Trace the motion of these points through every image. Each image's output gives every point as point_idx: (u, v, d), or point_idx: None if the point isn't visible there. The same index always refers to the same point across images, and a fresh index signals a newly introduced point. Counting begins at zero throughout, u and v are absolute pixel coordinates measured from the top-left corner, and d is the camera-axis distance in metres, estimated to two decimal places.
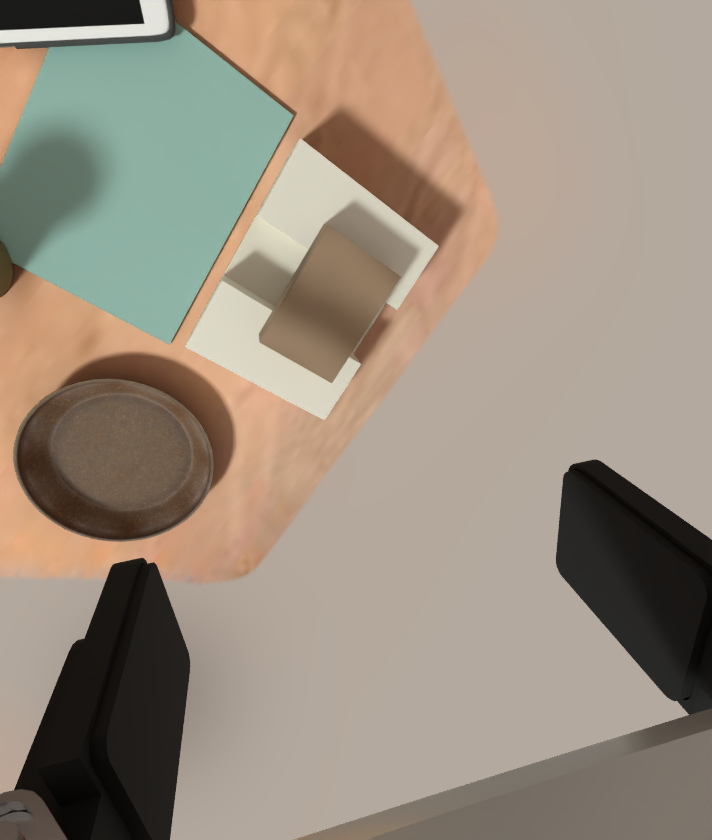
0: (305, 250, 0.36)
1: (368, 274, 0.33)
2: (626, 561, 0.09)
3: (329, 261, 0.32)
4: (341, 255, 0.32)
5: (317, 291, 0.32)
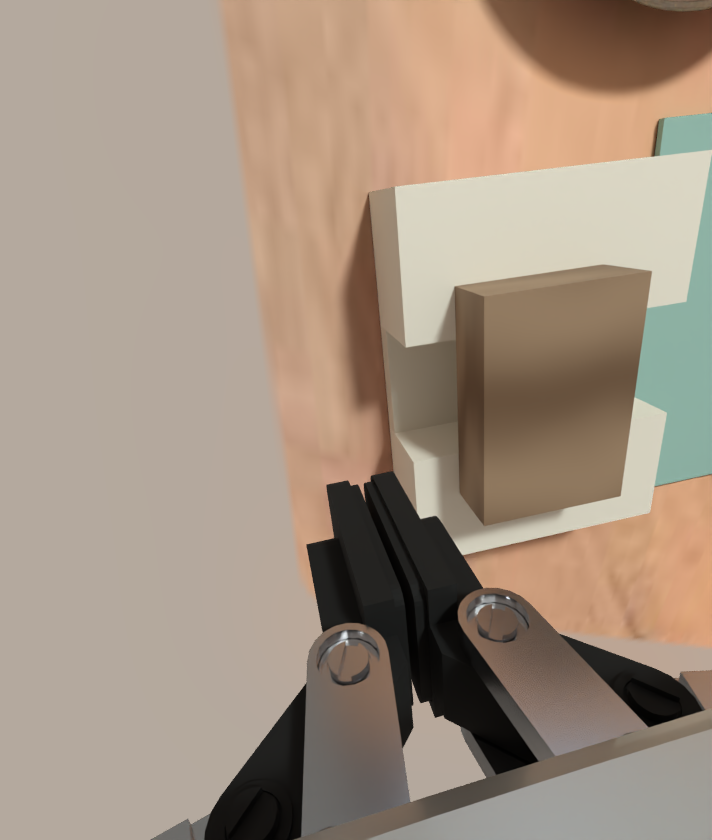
0: None
1: (532, 492, 0.19)
2: None
3: (599, 462, 0.19)
4: (584, 480, 0.19)
5: (595, 416, 0.18)
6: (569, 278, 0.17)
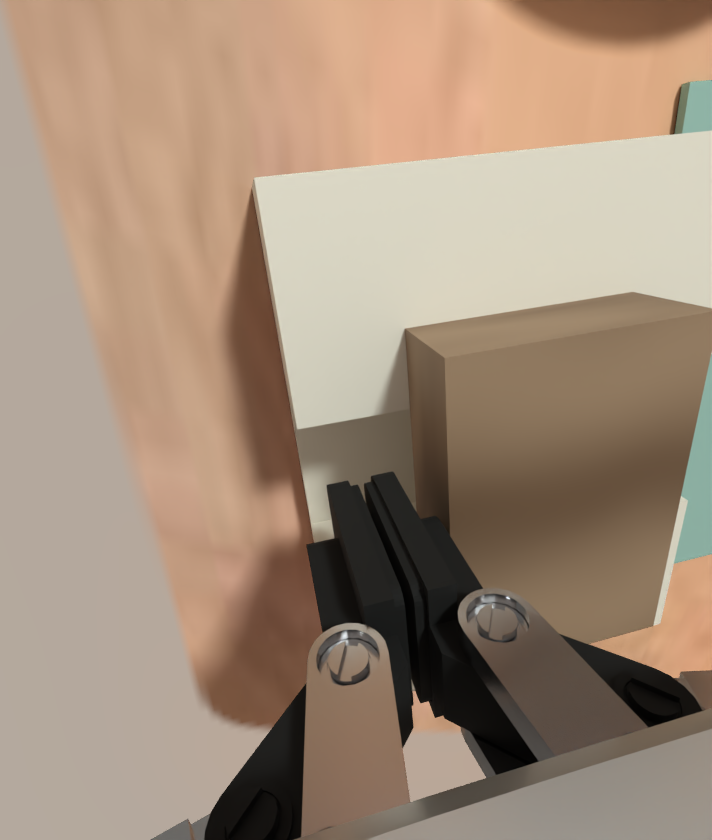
0: None
1: None
2: None
3: (624, 585, 0.13)
4: (603, 611, 0.13)
5: (622, 525, 0.12)
6: (585, 320, 0.10)
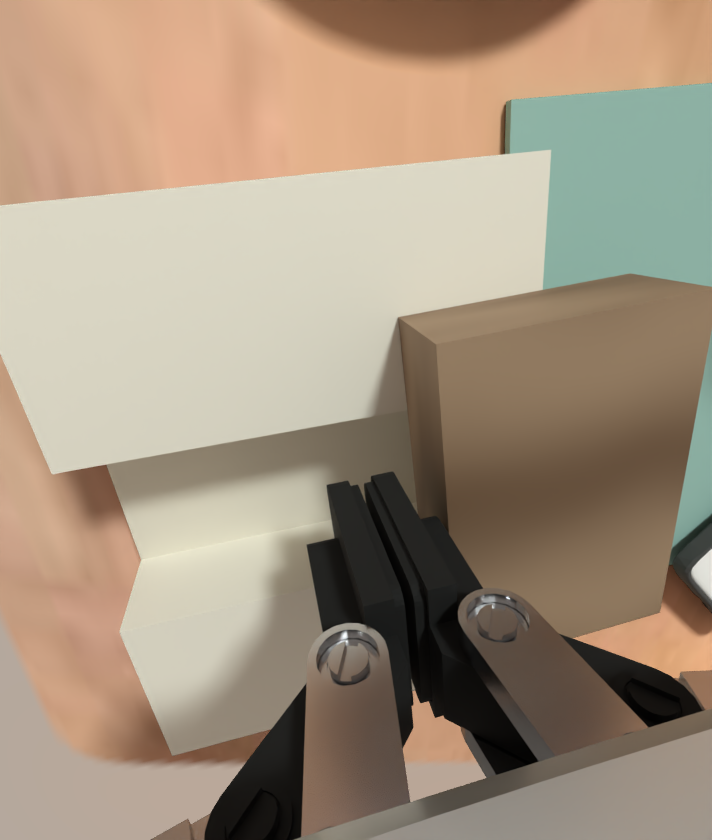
0: None
1: None
2: None
3: (629, 572, 0.12)
4: (607, 598, 0.13)
5: (624, 511, 0.12)
6: (580, 302, 0.10)
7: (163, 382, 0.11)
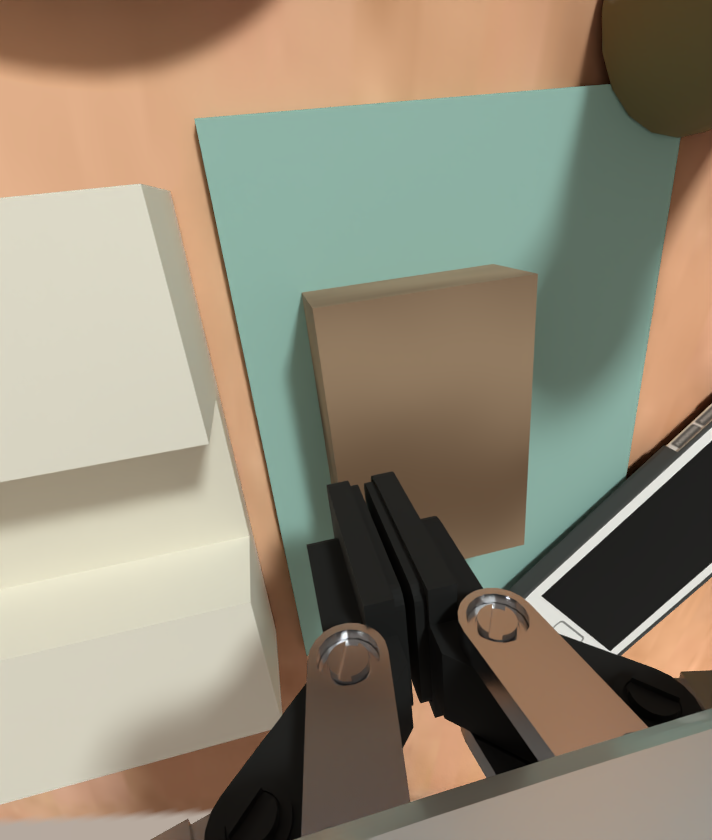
0: (114, 560, 0.15)
1: None
2: None
3: None
4: None
5: None
6: (391, 284, 0.14)
7: None
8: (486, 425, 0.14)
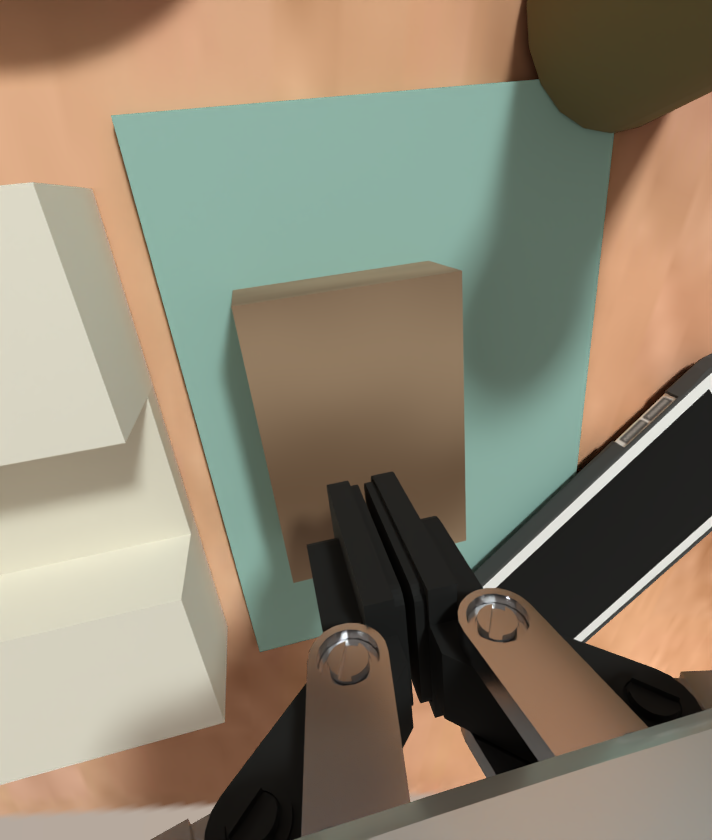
0: (53, 559, 0.15)
1: None
2: None
3: None
4: None
5: None
6: (320, 281, 0.13)
7: None
8: (419, 422, 0.14)
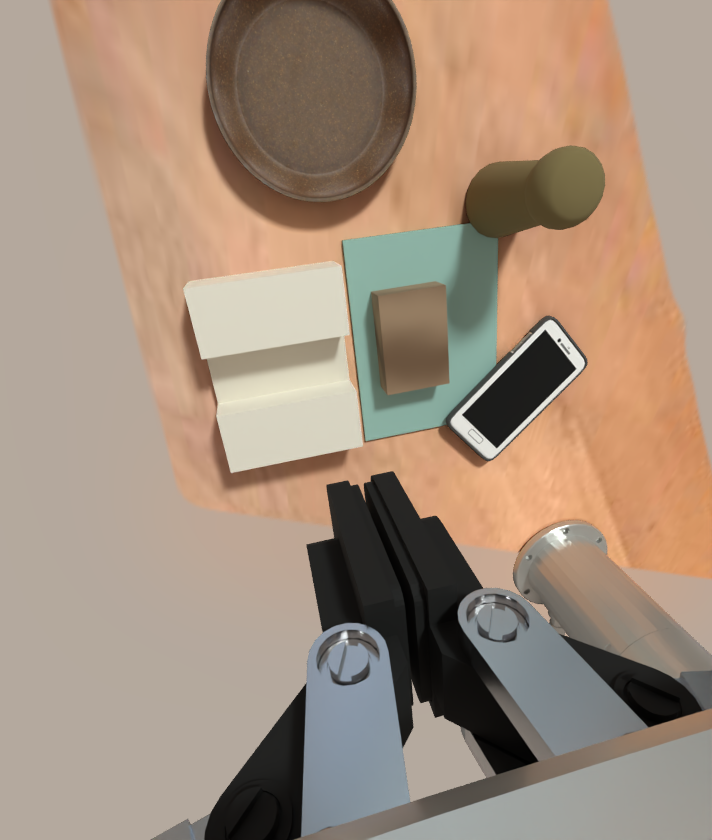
0: (303, 386, 0.44)
1: None
2: None
3: None
4: None
5: None
6: (400, 288, 0.42)
7: (233, 332, 0.37)
8: (432, 335, 0.42)
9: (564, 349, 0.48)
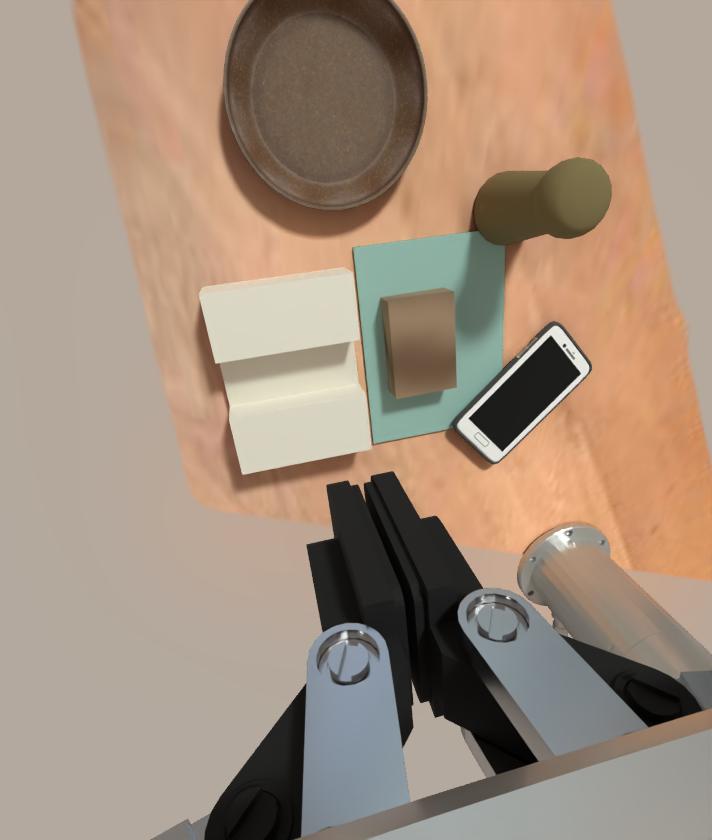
0: (313, 390, 0.44)
1: None
2: None
3: None
4: None
5: None
6: (409, 294, 0.43)
7: (247, 337, 0.38)
8: (440, 340, 0.43)
9: (569, 354, 0.48)
